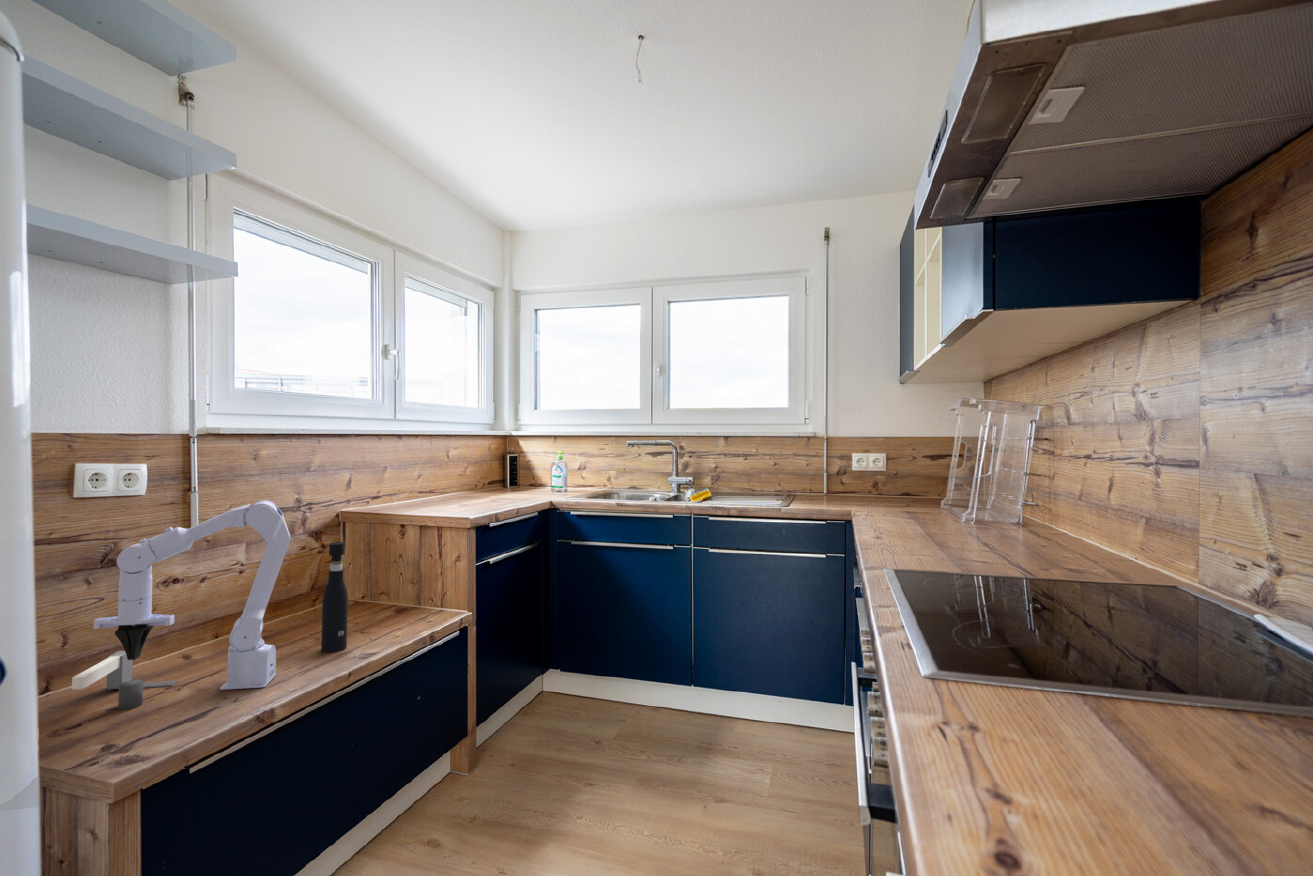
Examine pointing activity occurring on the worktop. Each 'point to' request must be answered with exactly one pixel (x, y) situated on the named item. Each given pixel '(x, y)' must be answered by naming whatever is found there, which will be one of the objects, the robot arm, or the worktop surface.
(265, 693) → the worktop surface
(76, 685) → the tie bar
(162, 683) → the rail
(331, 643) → the black water bottle
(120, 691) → the plug
